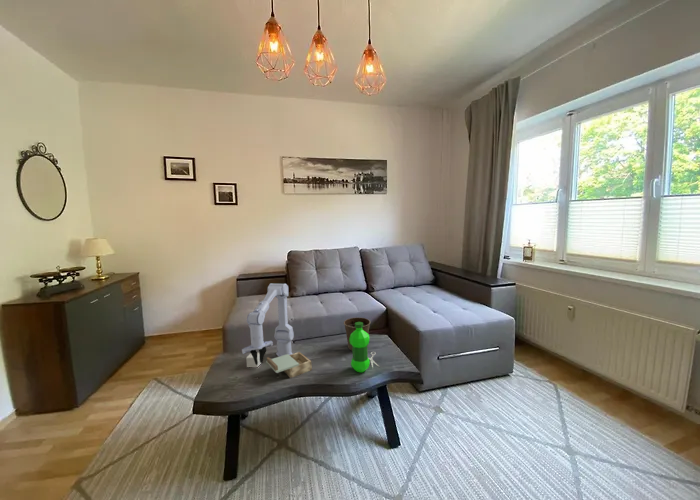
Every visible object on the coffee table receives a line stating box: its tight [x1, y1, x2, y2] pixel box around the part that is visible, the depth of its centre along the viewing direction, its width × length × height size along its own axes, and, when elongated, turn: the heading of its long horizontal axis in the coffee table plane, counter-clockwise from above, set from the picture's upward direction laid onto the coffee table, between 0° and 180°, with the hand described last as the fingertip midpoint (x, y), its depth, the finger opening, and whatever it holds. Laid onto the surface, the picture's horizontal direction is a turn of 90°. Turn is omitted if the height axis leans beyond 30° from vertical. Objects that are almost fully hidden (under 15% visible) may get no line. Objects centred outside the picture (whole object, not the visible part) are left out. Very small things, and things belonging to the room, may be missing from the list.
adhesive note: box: [245, 352, 262, 368], centre depth 158 cm, size 6×6×6 cm
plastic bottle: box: [349, 322, 371, 373], centre depth 149 cm, size 10×10×25 cm
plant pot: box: [343, 316, 371, 351], centre depth 175 cm, size 16×16×16 cm
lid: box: [266, 354, 299, 374], centre depth 149 cm, size 12×14×3 cm
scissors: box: [368, 351, 379, 369], centre depth 160 cm, size 11×1×20 cm
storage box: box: [283, 351, 313, 379], centre depth 153 cm, size 12×14×5 cm
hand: (258, 363), depth 142 cm, fingers closed
